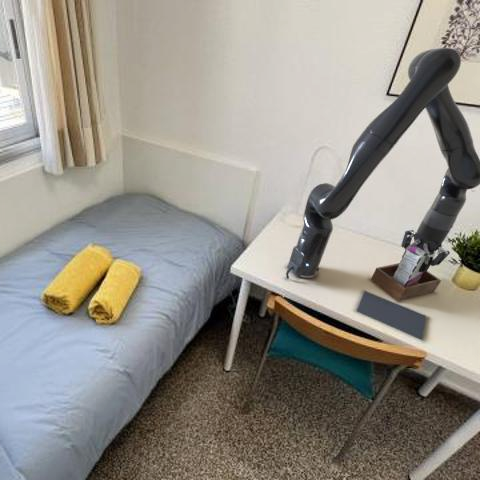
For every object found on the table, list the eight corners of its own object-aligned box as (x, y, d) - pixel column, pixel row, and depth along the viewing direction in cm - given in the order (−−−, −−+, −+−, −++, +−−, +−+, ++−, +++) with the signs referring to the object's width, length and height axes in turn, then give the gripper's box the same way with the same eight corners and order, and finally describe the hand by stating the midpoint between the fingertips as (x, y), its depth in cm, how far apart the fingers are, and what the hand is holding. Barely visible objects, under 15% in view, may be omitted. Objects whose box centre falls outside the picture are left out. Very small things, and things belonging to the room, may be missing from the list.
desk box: (397, 301, 115) (405, 289, 112) (370, 279, 124) (376, 267, 121) (433, 292, 120) (441, 280, 117) (404, 272, 129) (411, 260, 126)
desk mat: (421, 339, 102) (422, 338, 102) (356, 311, 111) (356, 310, 110) (425, 316, 110) (426, 315, 110) (364, 291, 119) (364, 290, 119)
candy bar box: (402, 277, 127) (423, 239, 118) (416, 285, 123) (439, 247, 114) (385, 287, 121) (406, 248, 112) (400, 295, 118) (422, 256, 109)
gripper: (408, 213, 113) (386, 255, 122) (451, 237, 101) (424, 281, 111) (424, 210, 115) (402, 252, 124) (468, 233, 103) (441, 277, 113)
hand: (413, 265), depth 117 cm, fingers closed on candy bar box, 5 cm apart
